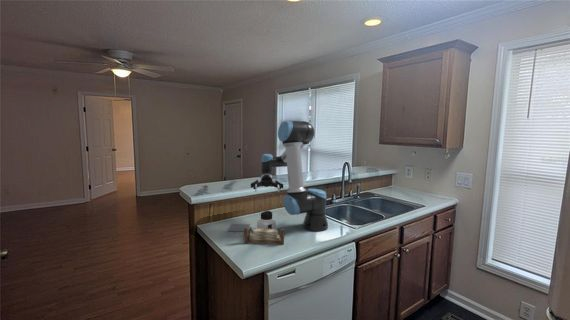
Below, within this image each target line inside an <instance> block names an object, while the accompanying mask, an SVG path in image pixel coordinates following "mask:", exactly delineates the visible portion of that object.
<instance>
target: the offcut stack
mask: <svg viewBox="0 0 570 320" xmlns="http://www.w3.org/2000/svg"><path fill="white" fill-rule="evenodd" d="M278 232H279V231H278V229H276V230H274V229H259V228H257V227H256V228H253V230H252V231H251V232H250V237H249V240H271V241H279V237H280V234H278Z"/></svg>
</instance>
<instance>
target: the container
mask: <svg viewBox="0 0 570 320" xmlns="http://www.w3.org/2000/svg"><path fill="white" fill-rule="evenodd" d="M276 223H277V222H276V220H274V219H273V212H272V211H269V210H264V211H261V212H260V219H259V220H257V221H256V228H259V229H274V230H277V228H276V227H277V224H276Z"/></svg>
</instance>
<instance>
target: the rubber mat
mask: <svg viewBox="0 0 570 320" xmlns="http://www.w3.org/2000/svg"><path fill="white" fill-rule="evenodd" d="M245 227H248V229H249V228H250V227H251V224H250V223H231V225H230V226H229V228H228V229H227V232H229V233H231V232H234V233H235V232H236V233H244V228H245Z"/></svg>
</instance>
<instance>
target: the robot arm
mask: <svg viewBox="0 0 570 320" xmlns="http://www.w3.org/2000/svg"><path fill="white" fill-rule="evenodd" d="M314 137H315V128H314V126H313V125H312V123H310V122H309V121H305V120H302V121H301V120H300V121H299V120H284V121H282V122H281V123H280V125H279V127H278V130H277V138H278V139H279V141H280V142H282V146H283V147H284V148H285V150H284V151H283V152H282V154H281V155H279V156H273V154H271V153H264V154H262V156H261V164H260V165H261V169H260V180H259V179H256V180H255V181H253V182H251V183H250V188H253V190H254V193H255V192H256V193H257V190H258V189H257V188H260V187H265V188H268V187H271V188H272V187H274V188H276V189H277V193H280V191H281V189H284V184H283V183H282V182H280V181H278V180H273V177H272V176H273V168H286V167H287V168H286V169H287V182H288V189H287V190H286V195H285V196H283V200H282V202H283V207H284V209H285V211H286V212H287V213H288V214H289V215H290V216H296V215H302V214H305V217H304V220H303V222H302V223H303V224H302V225H303V226H302V228H304V229H306V230H307V231H313V232H323V231H326V230H328V228H329V222H328V219H327V216H326V211H327V191H326V192H325V191H323V190H324V189H323V190H319V189H320V188H308V189H306V188H305V187H304V186H305V185H304V176H303V175H304V174H303V164H302V163H303V162H302V152H301V151H302V149H303V148H304V147H305V146H306V145H309V144H310V143H311V142H312V141H313V139H314Z"/></svg>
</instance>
